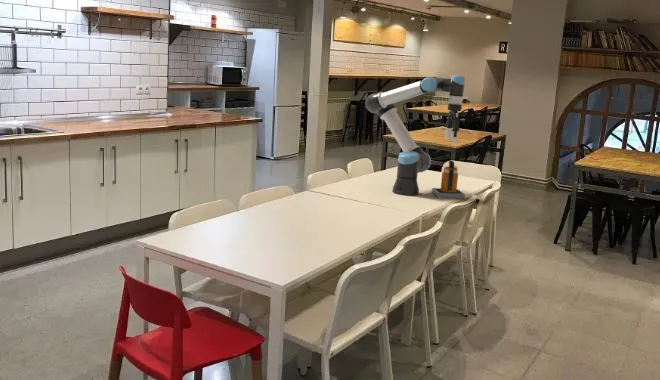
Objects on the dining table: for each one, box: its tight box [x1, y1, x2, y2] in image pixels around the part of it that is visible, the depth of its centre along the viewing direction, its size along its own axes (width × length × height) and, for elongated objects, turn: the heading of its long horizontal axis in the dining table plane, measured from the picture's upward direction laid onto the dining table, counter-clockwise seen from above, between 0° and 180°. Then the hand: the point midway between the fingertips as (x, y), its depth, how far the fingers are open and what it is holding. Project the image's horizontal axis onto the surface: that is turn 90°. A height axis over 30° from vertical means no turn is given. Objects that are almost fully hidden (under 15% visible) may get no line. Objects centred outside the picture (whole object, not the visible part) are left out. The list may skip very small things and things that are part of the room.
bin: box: [431, 187, 466, 200], centre depth 355 cm, size 16×14×3 cm
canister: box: [440, 160, 459, 193], centre depth 353 cm, size 9×11×20 cm
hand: (450, 141), depth 352 cm, fingers open, 13 cm apart
